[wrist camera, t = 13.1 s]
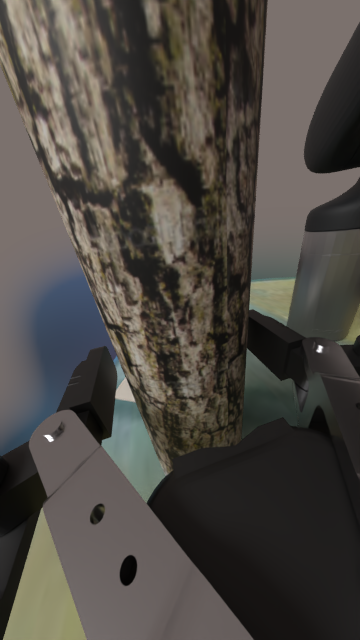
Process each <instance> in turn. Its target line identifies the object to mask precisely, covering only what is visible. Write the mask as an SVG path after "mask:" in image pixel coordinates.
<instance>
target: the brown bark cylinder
mask: <svg viewBox="0 0 360 640" xmlns="http://www.w3.org/2000/svg"><path fill="white" fill-rule="evenodd" d="M267 1H268V0H0V65H1V68H2V70H3V73H4V75H5V78H6V80H7V82H8V85H9V87H10V90H11V92H12V95H13V97H14V100H15V102H16V105H17V107H18V110H19V112H20V115H21V117H22V120H23V122H24V125H25V127H26V130H27V132H28V135H29V137H30V140H31V142H32V145H33V147H34V150H35V152H36V155H37V157H38V159H39V162H40V165H41V167H42V170H43V172H44V175H45V177H46V179H47V182H48V185H49V187H50V190H51V192H52V195H53V197H54V200H55V202H56V205H57V207H58V210H59V211H60V215H61V217H62V219H63V222H64V225H65V227H66V229H67V232H68V234H69V237H70V240H71V242H72V244H73V247H74V249H75V252H76V254H77V257H78V259H79V262H80V264H81V267H82V269H83V272H84V274H85V277H86V279H87V282H88V284H89V287H90V289H91V292H92V294H93V297H94V299H95V302H96V304H97V307H98V309H99V312H100V314H101V317H102V319H103V322H104V324H105V327H106V329H107V332H108V334H109V337H110V339H111V342H112V344H113V347H114V349H115V352H116V354H117V357H118V359H119V362H120V364H121V367H122V369H123V372H124V374H125V377H126V379H127V382H128V384H129V387H130V389H131V392H132V394H133V397H134V399H135V402H136V404H137V407H138V409H139V412H140V414H141V416H142V419H143V421H144V424H145V426H146V429H147V431H148V434H149V436H150V439H151V441H152V444H153V446H154V449H155V451H156V454H157V456H158V459H159V461H160V464H161V466H162V469H163V471H164V473H165V475H167V474H169V473H170V472H171V471H172V470H174V468H173V463H172V459H173V458H176V457H179V456H181V455H184V454H187V453H189V452H192V451H195V450H197V449H200V448H209V447H226V446H234V445H236V444H238V443H239V442H240V441H241V435H242V418H243V401H244V385H245V368H246V351H247V335H248V318H249V301H250V285H251V268H252V250H253V233H254V218H255V201H256V184H257V168H258V167H257V166H258V151H259V135H260V134H259V133H260V117H261V100H262V85H263V68H264V50H265V35H266V17H267Z"/></svg>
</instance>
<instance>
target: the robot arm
mask: <svg viewBox="0 0 360 640" xmlns="http://www.w3.org/2000/svg"><path fill="white" fill-rule="evenodd" d="M304 159H305V163H306V166H307V168H308V169H309V170H310V171H311V172H314V173H331V172H337V171H342V170H347V169H352V168H357V167H360V23H359V24H358V26H357V28H356V30H355V32H354V34H353V36H352V38H351V39H350V41H349V43H348V45H347V47H346V49H345V50H344V52H343V54H342V56H341V58H340V60H339V62H338V64H337V65H336V67H335V69H334V71H333V73H332V75H331V77H330V79H329V81H328V83H327V85H326V87H325V89H324V91H323V94H322V96H321V98H320V100H319V102H318V105H317V107H316V110H315V112H314V115H313V118H312V120H311V123H310V126H309V130H308V133H307V137H306V142H305V149H304ZM359 304H360V178H359V179H358V181H357V183H356V184H355V185H354V186H353V187H352V188H350V189H349V190H348V191H347V192H345V193H343V194H342V195H340V196H339V197H337V198H335V199H334V200H332V201H329V202H327V203H325V204H323V205H320V206H318V207H316V208H315V209H313V210H312V211H310V213H309V214H308V217H307V220H306V225H305V232H304V237H303V242H302V248H301V253H300V259H299V264H298V269H297V275H296V280H295V285H294V290H293V296H292V301H291V306H290V311H289V316H288V322H287V326H288V327H287V326H285V325H283V324H282V323H279V322H278V321H276V320H275V319H273V318H271V317H268V316H264V315H262V314H260V313H258V312H257V311H255V310H249V318H248V335H247V348H248V349H249V350H250V351H251V352H252V353H253V354H254V355H255V356H256V357H257V358H258V359H259V360H260V361H261V362H262V363H263V364H264V365H265V366H266V367H267V368H268V369H269V370H270V371H271V372H272V373H273V374H274V375H276V376H277V377H278V378H279V379H280V380H281V381H282V380H285V379H288V378H291V379H292V380H293V382H292V388H293V394H294V400H295V406H296V412H297V418H298V426H297V427H296V426H290V425H289V424H288V423H287V422H286V420H285V419H284V418H280V419H277V420H275V421H272V422H269V423H267V424H264V425H261V426H259V427H257V428H256V429H255V430H254V431H252V432H251V433H250V434H249V435H248V436H246V437H245V438H244V439H243V440H242V441H240V442H239V443H238V444H236V445H234V446H226V447H209V448H200V449H197V450H195V451H192V452H189V453H187V454H184V455H181V456H179V457H176V458H173V459H172V463H173V468H174V470H172V471H171V472H170V473H169V474H167V475H166V476H165V478H164V479H163V480H162V481H161V482H160V483H159V484H158V486H157V487H156V488H155V490H154V491H153V493H152V494H151V496H150V498H149V500H148V501H147V503H146V502H145V501H144V500H143V499H142V497H141V496H140V495H139V493H138V492H137V491H136V490H135V488H134V487H133V486H132V484H131V483H130V482H129V481H128V479H127V478H126V477H125V475H124V474H123V473H122V472H121V470H120V469H119V468H118V466H117V465H116V464H115V463H114V461H113V460H112V459H111V457H110V456H109V455H108V454H107V452H106V451H105V450H104V448H103V447H102V446H101V443H102V440H103V439H106V438H109V437H111V434H112V424H113V414H114V405H115V395H116V385H117V371H116V367H115V365H114V362H113V360H112V358H111V355H110V353H109V351H108V349H107V347H106V346H104V347H99V348H95V349H92V350H90V352H89V355H88V357H87V360H86V361H82V362H81V363H80V364H79V365H78V366H77V367H76V369H75V370H74V372H73V375H72V377H71V379H70V382H69V384H68V385H69V386H67V388H66V391H65V393H64V395H63V398H62V400H61V402H60V405H59V407H58V409H57V412H56V413H55V414H53V415H51V416H50V417H48V418H47V419H46V420H44V421H43V422H42V423H41V424H40V425H39V426H38V427H37V429H36V430H35V431H34V433H33V434H32V436H31V438H30V440H29V441H28V442H26V443H24V444H23V445H21V446H19V447H18V448H15V449H14V450H12V451H10V452H8V453H7V454H5V455H3V456H0V640H3V637H4V634H5V631H6V627H7V624H8V620H9V617H10V613H11V610H12V607H13V603H14V600H15V596H16V593H17V589H18V586H19V583H20V579H21V576H22V572H23V569H24V565H25V562H26V559H27V555H28V552H29V548H30V545H31V541H32V538H33V535H34V531H35V528H36V524H37V521H38V517H39V514H40V511H41V508H42V507H43V511H44V514H45V517H46V520H47V523H48V526H49V529H50V532H51V535H52V538H53V541H54V544H55V547H56V550H57V553H58V556H59V559H60V562H61V565H62V568H63V571H64V573H65V576H66V579H67V582H68V585H69V588H70V591H71V594H72V597H73V600H74V603H75V606H76V609H77V612H78V615H79V618H80V621H81V624H82V627H83V630H84V632H85V635H86V638H87V640H360V335H359V336H358V337H357V338H356V341H355V343H354V345H339V344H337V343H336V342H334V341H337V340H341V339H343V338H345V337H346V336H347V334H348V332H349V329H350V327H351V324H352V322H353V319H354V317H355V314H356V312H357V309H358V307H359Z"/></svg>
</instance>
